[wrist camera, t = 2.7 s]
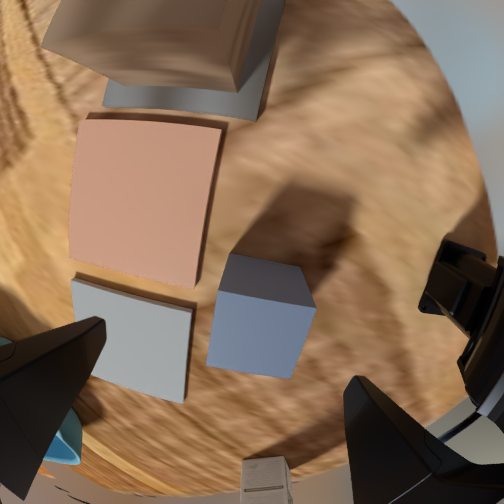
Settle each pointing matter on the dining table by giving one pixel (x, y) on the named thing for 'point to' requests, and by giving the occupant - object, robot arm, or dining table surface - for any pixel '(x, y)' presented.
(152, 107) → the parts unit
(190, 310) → the grey mat
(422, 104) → the dining table surface
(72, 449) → the casserole dish
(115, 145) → the terracotta mat
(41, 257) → the dining table surface
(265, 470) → the syrup box
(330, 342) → the dining table surface
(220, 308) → the block
